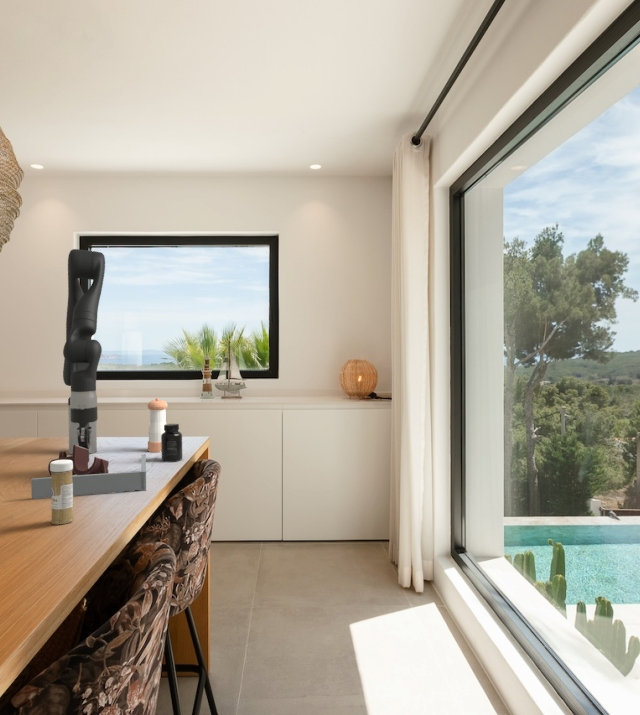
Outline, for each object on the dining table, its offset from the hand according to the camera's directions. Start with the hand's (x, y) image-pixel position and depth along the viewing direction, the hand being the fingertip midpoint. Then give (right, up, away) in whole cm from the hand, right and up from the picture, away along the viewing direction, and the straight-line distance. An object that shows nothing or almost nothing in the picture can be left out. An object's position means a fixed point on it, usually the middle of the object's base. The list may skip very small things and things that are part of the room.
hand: (85, 462), depth 173 cm
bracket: (+2, -4, -8) cm, 9 cm away
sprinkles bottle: (+14, -5, -47) cm, 50 cm away
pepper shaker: (+12, -2, +36) cm, 38 cm away
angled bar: (+8, -3, -13) cm, 15 cm away
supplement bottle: (+21, -3, +19) cm, 29 cm away
